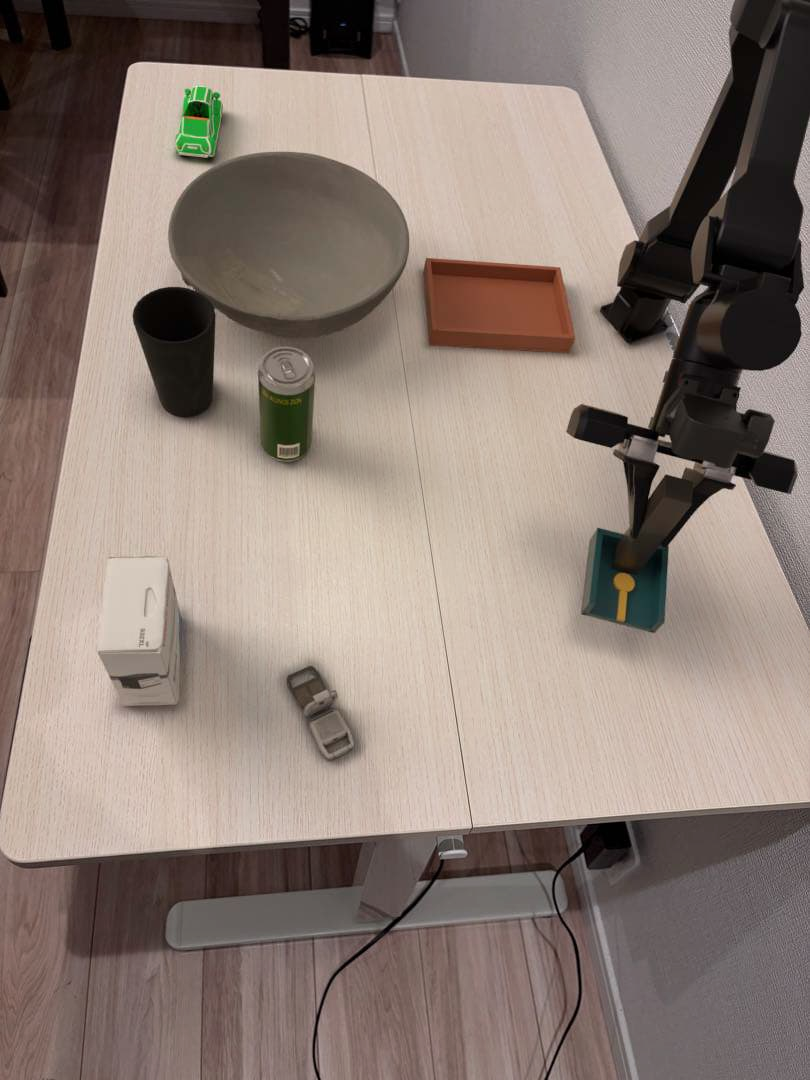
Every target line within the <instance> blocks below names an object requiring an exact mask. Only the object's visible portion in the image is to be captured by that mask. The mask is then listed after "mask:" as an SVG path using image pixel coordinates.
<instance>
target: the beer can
mask: <svg viewBox="0 0 810 1080" xmlns="http://www.w3.org/2000/svg"><path fill="white" fill-rule="evenodd" d="M257 382H258V383H257V384H258V385H257V387H258V389H257V390H258V417H259V440H260V447H261V448H262V450H263V451H264V452H265V454H266V455H267V456H269V457H270V458H271V459H273V460H275V461H277V462H281V463H293V462H295V461H298V460H300V459H301V458H303V457H304V456H305V455H306V454H307V453H308V451H309V450H310V449H311V445H312V441H313V426H314V407H315V406H314V405H315V390H316V389H315V387H316V372H315V368H314V365H313V361H312V359H311V357H310V356H309V355H308V354H307V353H306V352H304V350H301V349H299V348H297V347H293V346H278V347H275V348H272V349H270V350H269V351H267V352H266V353H264V355H263V356H262V358H261V360H260V363H259V367H258V369H257Z"/></svg>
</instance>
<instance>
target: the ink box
mask: <svg viewBox="0 0 810 1080" xmlns="http://www.w3.org/2000/svg"><path fill="white" fill-rule="evenodd" d="M105 569H106V570H105V577H104V584H103V592H102V601H101V602H102V603H101V610H100V618H99V619H100V620H99V627H98V636H97V647H96V649H97V650H96V653H97V655H98V657H99V659H100V661H101V662H102V665H103V666H104V669H105V671H106V673H107V675H108V677H109V679H110V681H111V683H112V686H113V688H114V689H115V692H116V693H117V696H118V698H119V700H120V702H121V704H122V706H123V707H127V706H128V707H129V706H131V707H132V706H133V707H134V706H135V707H136V706H166V705H167V706H169V705H173V706H174V705H177V704H178V703H179V697H180V695H179V694H180V672H181V650H182V649H181V648H182V647H181V646H182V627H183V624H182V623H183V619H182V618H183V617H182V614H181V610H180V606H179V601H178V597H177V592H176V588H175V584H174V580H173V575H172V571H171V565H170V561H169V558H168V556H167V555H165V554H163V555H162V554H159V555H157V554H155V555H121V556H119V555H117V556H107V560H106V568H105Z"/></svg>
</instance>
